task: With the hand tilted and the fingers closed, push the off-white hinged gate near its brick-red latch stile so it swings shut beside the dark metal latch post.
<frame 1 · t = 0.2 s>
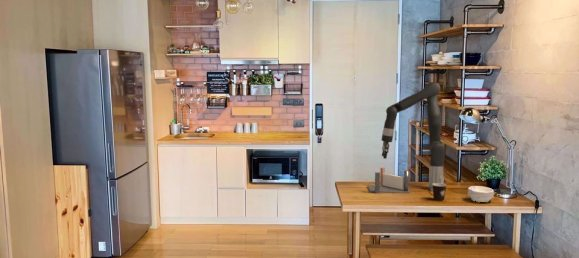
hand: (384, 157, 322), 23 cm above the table, tool pointing down, fingers open, 8 cm apart
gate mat: (405, 192, 314), on the table
gate: (392, 178, 322), point 8 cm above the table, hinge at -45.0°
coffee mug: (436, 200, 295), on the table
gate posts: (405, 192, 314), on the table
paper bowls: (480, 201, 293), on the table
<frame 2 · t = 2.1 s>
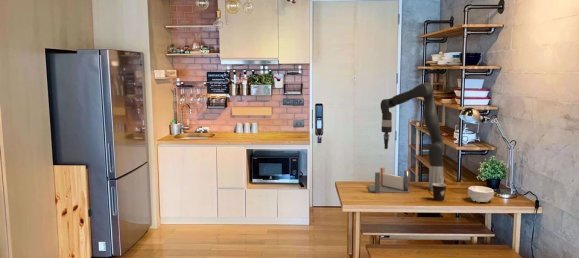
hand: (386, 148, 343), 25 cm above the table, tool pointing down, fingers open, 3 cm apart
nothing on the table moved.
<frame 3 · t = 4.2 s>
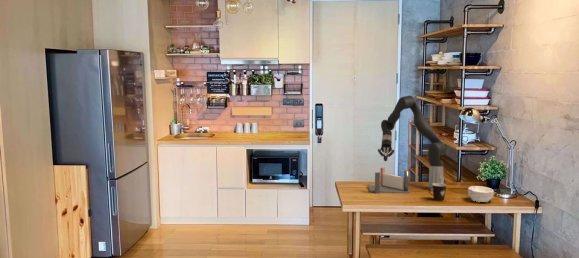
hand: (385, 160, 343), 16 cm above the table, tool tilted 45°, fingers closed
nothing on the table moved.
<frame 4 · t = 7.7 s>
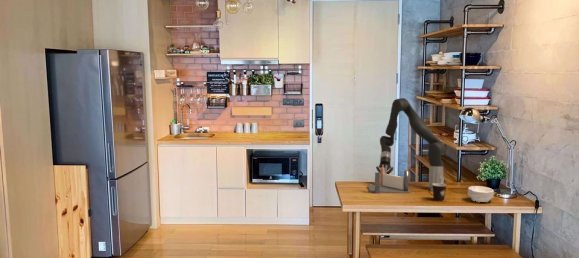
hand: (383, 178, 330), 6 cm above the table, tool tilted 45°, fingers closed
gate: (392, 178, 322), point 8 cm above the table, hinge at -44.7°, touching gripper
everything else where it was.
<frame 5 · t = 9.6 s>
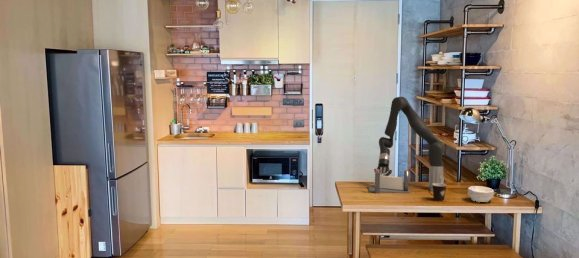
hand: (381, 181, 322), 6 cm above the table, tool tilted 45°, fingers closed
gate: (389, 179, 318), point 8 cm above the table, hinge at -20.2°, touching gripper
everything else where it was.
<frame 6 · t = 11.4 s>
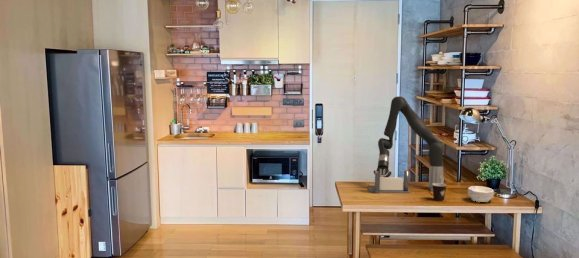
hand: (381, 183, 316), 6 cm above the table, tool tilted 45°, fingers closed
gate: (389, 180, 314), point 8 cm above the table, hinge at 0.1°, touching gripper
everything else where it was.
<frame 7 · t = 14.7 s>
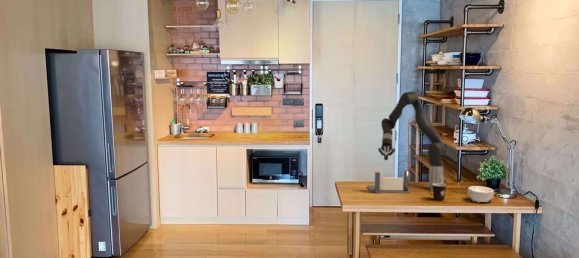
hand: (385, 159, 335), 18 cm above the table, tool tilted 45°, fingers closed
gate: (389, 180, 314), point 8 cm above the table, hinge at 0.1°
everything else where it was.
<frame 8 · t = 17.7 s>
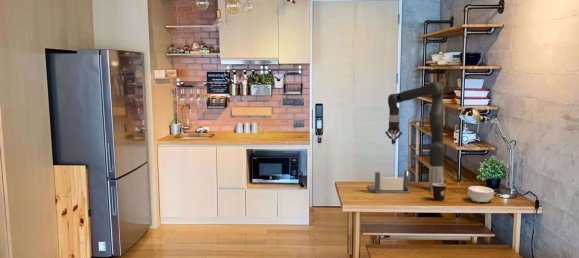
hand: (393, 144, 339), 29 cm above the table, tool pointing down, fingers closed
nothing on the table moved.
at the end: gate at +0° (first picture: -45°); coffee mug moved 0.2 cm from its start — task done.
